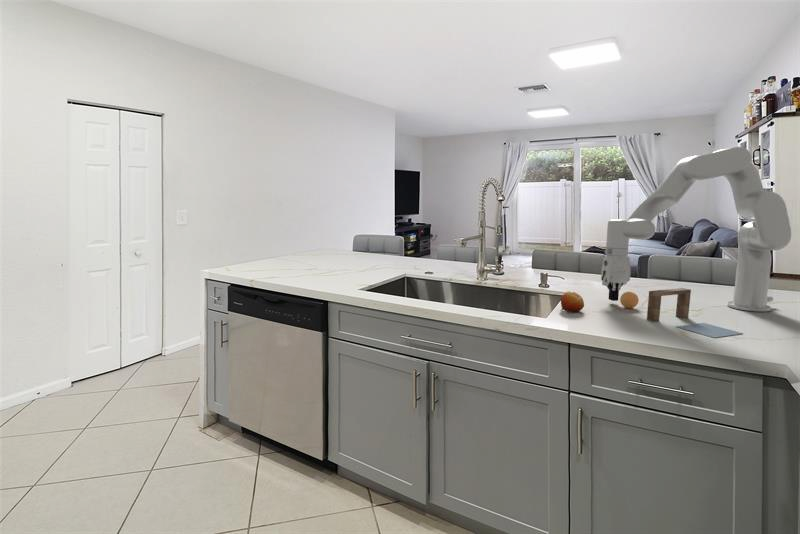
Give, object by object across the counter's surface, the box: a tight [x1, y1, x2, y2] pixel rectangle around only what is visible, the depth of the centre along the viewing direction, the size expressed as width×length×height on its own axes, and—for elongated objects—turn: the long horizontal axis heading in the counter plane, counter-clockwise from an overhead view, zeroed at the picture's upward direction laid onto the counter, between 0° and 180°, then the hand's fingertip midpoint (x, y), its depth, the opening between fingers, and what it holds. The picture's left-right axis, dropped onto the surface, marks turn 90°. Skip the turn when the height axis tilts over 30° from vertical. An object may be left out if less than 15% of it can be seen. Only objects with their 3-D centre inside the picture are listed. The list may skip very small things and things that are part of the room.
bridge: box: [646, 287, 692, 323], centre depth 148 cm, size 3×15×10 cm, turn 110°
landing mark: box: [675, 322, 744, 339], centre depth 136 cm, size 12×12×1 cm
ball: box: [619, 291, 640, 309], centre depth 163 cm, size 6×6×6 cm
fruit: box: [559, 291, 585, 314], centre depth 159 cm, size 8×8×8 cm
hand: (613, 300), depth 170 cm, fingers closed
